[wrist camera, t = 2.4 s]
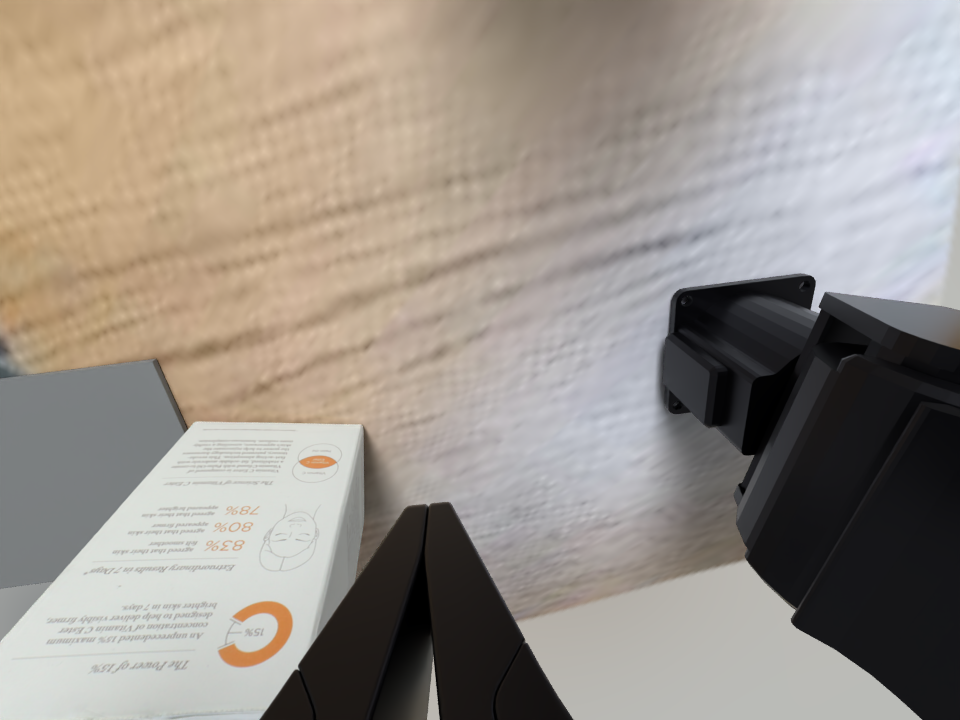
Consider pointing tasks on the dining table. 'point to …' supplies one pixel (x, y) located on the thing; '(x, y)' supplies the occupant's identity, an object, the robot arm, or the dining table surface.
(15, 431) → the mat
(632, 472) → the dining table surface
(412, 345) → the dining table surface
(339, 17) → the dining table surface
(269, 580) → the small box
